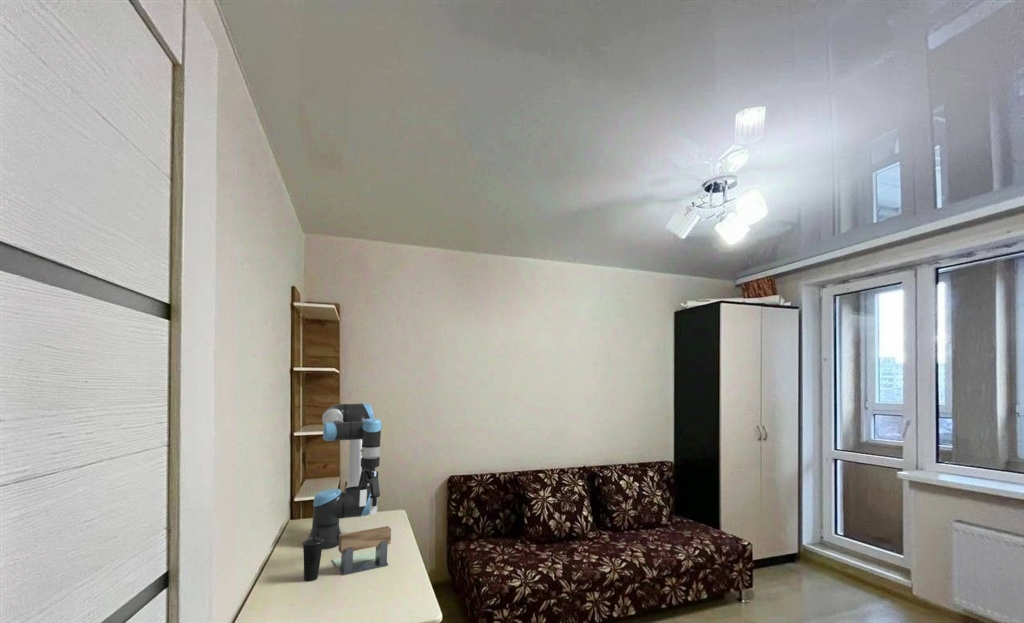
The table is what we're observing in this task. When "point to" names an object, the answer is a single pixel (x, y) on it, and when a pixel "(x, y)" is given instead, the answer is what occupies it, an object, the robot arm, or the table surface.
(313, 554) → the drinking cup
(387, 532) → the rail
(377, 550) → the rack
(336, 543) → the robot arm
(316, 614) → the table surface
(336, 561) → the mat
